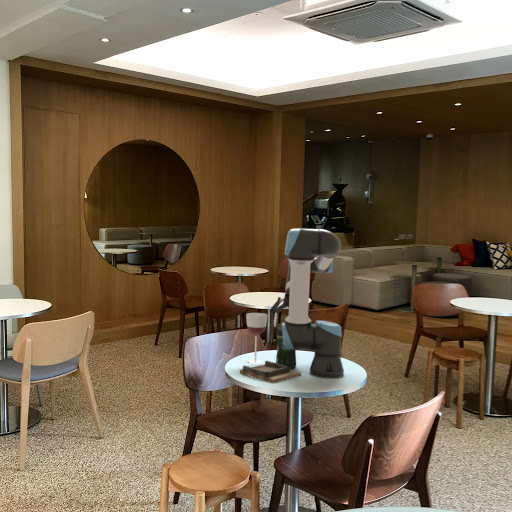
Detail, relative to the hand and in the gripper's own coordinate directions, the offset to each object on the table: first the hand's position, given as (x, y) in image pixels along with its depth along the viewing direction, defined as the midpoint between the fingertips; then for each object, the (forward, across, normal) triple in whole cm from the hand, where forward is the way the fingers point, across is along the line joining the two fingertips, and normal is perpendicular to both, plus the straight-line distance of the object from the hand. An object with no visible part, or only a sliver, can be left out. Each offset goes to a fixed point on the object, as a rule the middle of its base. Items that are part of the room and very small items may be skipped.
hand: (288, 326), depth 271 cm
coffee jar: (+19, 0, -6) cm, 20 cm away
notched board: (+30, +5, +5) cm, 31 cm away
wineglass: (+16, +15, -10) cm, 24 cm away
